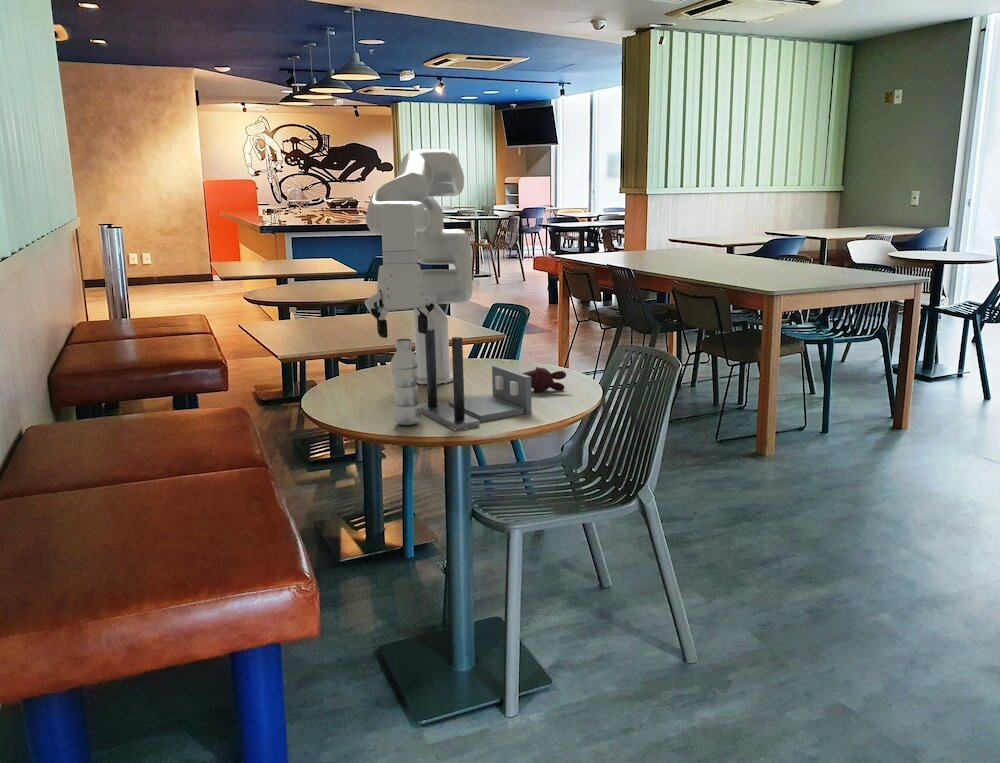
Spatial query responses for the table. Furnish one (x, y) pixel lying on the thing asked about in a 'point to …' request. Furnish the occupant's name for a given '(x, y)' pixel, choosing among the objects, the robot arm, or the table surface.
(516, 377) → the switch board
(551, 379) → the dark brown rounded figure
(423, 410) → the cord gate
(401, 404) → the silver bottle
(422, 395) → the table surface
